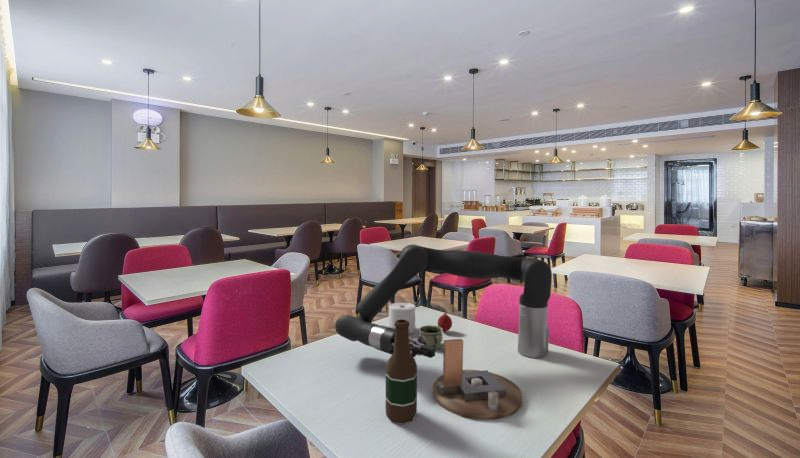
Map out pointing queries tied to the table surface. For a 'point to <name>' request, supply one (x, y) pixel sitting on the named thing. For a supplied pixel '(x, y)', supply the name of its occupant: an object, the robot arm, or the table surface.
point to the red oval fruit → (445, 322)
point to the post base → (482, 400)
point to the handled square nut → (464, 376)
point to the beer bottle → (401, 378)
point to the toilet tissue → (402, 314)
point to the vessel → (431, 336)
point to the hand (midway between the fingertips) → (433, 353)
